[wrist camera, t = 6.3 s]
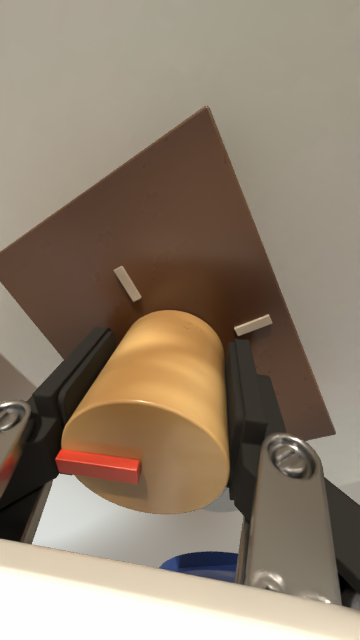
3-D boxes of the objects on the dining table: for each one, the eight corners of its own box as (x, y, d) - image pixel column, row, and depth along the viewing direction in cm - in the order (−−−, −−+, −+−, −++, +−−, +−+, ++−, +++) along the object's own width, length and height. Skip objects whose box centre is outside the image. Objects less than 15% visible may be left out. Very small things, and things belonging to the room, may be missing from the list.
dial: (229, 313, 10) (243, 425, 5) (219, 399, 12) (221, 539, 7) (119, 305, 10) (34, 400, 5) (127, 389, 12) (70, 514, 7)
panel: (314, 390, 14) (338, 437, 11) (165, 431, 17) (156, 476, 15) (210, 129, 10) (207, 100, 7) (32, 249, 13) (-20, 263, 10)
